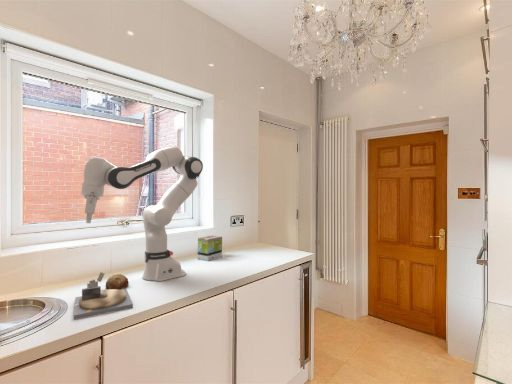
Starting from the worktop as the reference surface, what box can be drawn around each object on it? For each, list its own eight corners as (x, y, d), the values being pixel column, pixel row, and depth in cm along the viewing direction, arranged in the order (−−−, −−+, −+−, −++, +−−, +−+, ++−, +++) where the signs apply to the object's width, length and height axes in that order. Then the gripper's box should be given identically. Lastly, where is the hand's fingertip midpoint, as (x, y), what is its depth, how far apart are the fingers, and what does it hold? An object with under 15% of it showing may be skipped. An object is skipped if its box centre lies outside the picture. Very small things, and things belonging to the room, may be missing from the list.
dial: (123, 290, 128) (123, 277, 128) (128, 303, 114) (128, 288, 114) (79, 297, 119) (79, 283, 119) (78, 312, 105) (78, 297, 105)
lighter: (88, 292, 129) (88, 275, 129) (87, 291, 131) (87, 274, 130) (104, 288, 135) (104, 272, 134) (103, 287, 136) (103, 271, 136)
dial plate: (126, 292, 130) (126, 288, 130) (132, 307, 113) (132, 303, 113) (75, 300, 120) (75, 296, 120) (73, 319, 103) (73, 314, 103)
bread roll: (105, 294, 137) (98, 281, 134) (123, 280, 145) (116, 267, 142) (116, 298, 132) (109, 285, 129) (134, 283, 140) (128, 271, 137)
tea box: (208, 261, 186) (208, 239, 186) (197, 259, 192) (197, 237, 192) (222, 256, 199) (222, 236, 199) (211, 255, 205) (211, 234, 204)
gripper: (100, 193, 123) (96, 225, 123) (100, 191, 141) (96, 218, 141) (83, 192, 120) (79, 224, 120) (85, 189, 138) (82, 217, 137)
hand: (88, 221), depth 130 cm, fingers open, 8 cm apart
